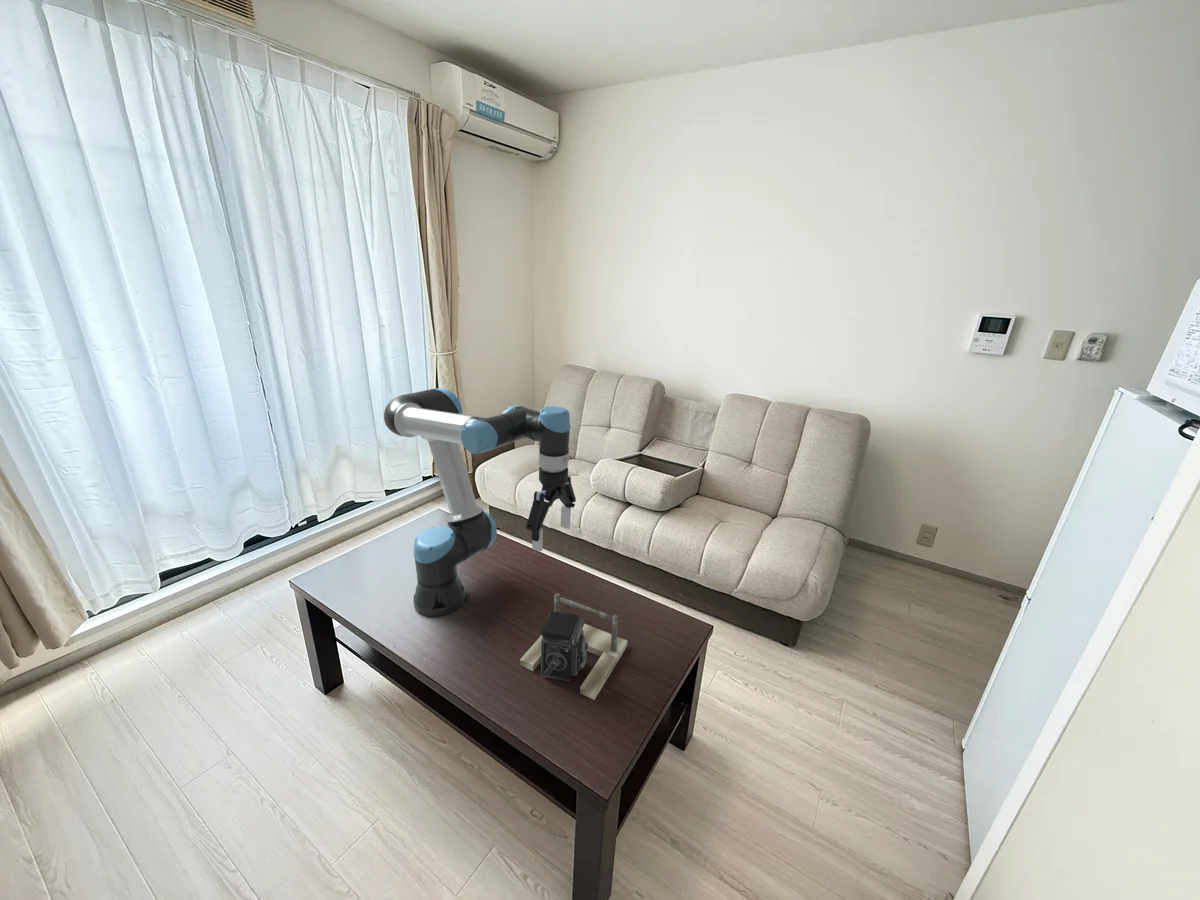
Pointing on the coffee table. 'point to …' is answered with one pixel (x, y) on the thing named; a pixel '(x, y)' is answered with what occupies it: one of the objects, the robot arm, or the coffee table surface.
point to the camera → (563, 646)
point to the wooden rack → (598, 644)
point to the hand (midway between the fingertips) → (551, 538)
